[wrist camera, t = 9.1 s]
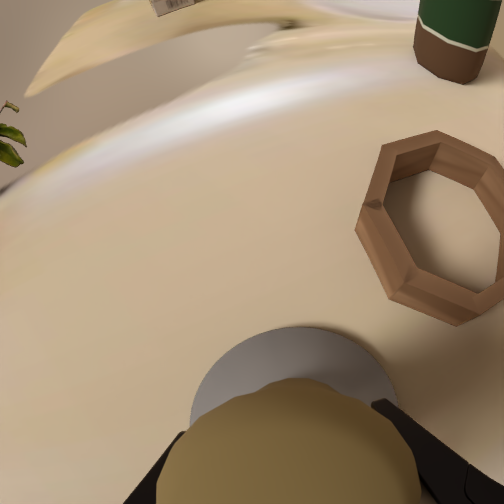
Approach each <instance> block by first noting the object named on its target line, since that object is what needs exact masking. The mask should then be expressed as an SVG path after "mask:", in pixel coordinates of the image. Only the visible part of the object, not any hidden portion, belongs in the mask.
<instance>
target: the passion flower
mask: <svg viewBox="0 0 504 504" xmlns="http://www.w3.org/2000/svg"><path fill="white" fill-rule="evenodd" d="M4 107H8V108H12V109H13V110H14V111H15V112H16V113H17V112H19V108H18V107H17V106H15V105H13V104H11V103H9V102H8V101H6V102H5V104H4V105H3V107H2V108H1V110H0V113H1V111H2V109H3V108H4ZM0 136H2V137H7V138H10V139H12V140H14V141H16V142H19V143H21V144H23V145H24V146H25V147H27V146H26V142H25V138H24V136H23V134H22V132H21V131H19V130H17V129H15V128H14V127H12V126H9V127H7V125H6V124H0ZM0 161H2V162H4V163H6V164H7V165H10V166H12V167H18V166H19V165H20V164H23V163H24V161H23V160H22V159H21V158H20V157H19V155H18V153H17V151H16V150H15V149H14V148H13V147H12V146H11V145H10V144H9V143H5V142H3V141H1V140H0Z"/></svg>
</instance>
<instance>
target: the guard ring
mask: <svg viewBox="0 0 504 504" xmlns="http://www.w3.org/2000/svg"><path fill="white" fill-rule="evenodd" d="M428 169H429V170H431V171H434V172H436V173H438V174H441V175H443V176H445V177H447V178H450V179H452V180H454V181H456V182H459V183H461V184H463V185H465V186H467V187H469V188H472V189H474V191H475V192H476V194H477V196H478V197H479V199H480V200H481V202H482V203H483V205H484V207H485V208H486V210H487V211H488V213H489V215H490V216H491V218H492V220H493V221H494V223H495V225H496V227H497V228H498V230H499V232H500V234H501V235H500V247H499V257H498V266H497V273H496V280H495V283H494V284H493V285H491V286H490V287H488V288H487V289H485V290H483V291H482V292H480V293H479V294H477V293H475V292H473V291H470V290H468V289H466V288H464V287H461V286H459V285H457V284H454V283H452V282H450V281H448V280H445V279H443V278H440V277H438V276H436V275H433V274H431V273H429V272H426V271H424V270H421V269H419V268H417V267H416V265H415V263H414V261H413V259H412V257H411V255H410V253H409V251H408V249H407V248H406V246H405V244H404V242H403V240H402V238H401V237H400V235H399V233H398V231H397V229H396V228H395V226H394V224H393V222H392V220H391V219H390V217H389V215H388V214H387V212H386V210H385V208H384V207H383V205H382V204H383V201H384V198H385V195H386V191H387V188H388V184H389V183H390V182H393V181H396V180H399V179H402V178H405V177H408V176H411V175H414V174H417V173H420V172H422V171H425V170H428ZM355 231H356V233H357V235H358V237H359V239H360V241H361V243H362V245H363V247H364V249H365V251H366V253H367V255H368V257H369V259H370V261H371V263H372V265H373V267H374V269H375V271H376V273H377V275H378V277H379V279H380V281H381V283H382V286H383V288H384V290H385V292H386V294H387V296H388V298H389V299H390V300H392V301H395V302H397V303H400V304H402V305H405V306H407V307H410V308H412V309H415V310H417V311H419V312H422V313H424V314H427V315H429V316H432V317H434V318H437V319H439V320H442V321H444V322H447V323H449V324H452V325H454V326H458V325H460V324H463V323H465V322H467V321H469V320H471V319H473V318H475V317H477V316H479V315H481V314H482V313H483V312H485V311H486V310H488V309H489V308H491V307H492V306H494V305H495V304H497V303H498V302H500V301H501V300H502V299H504V169H503V168H502V166H501V165H500V163H499V162H498V161H497V159H496V158H495V157H494V156H492V155H490V154H488V153H486V152H484V151H482V150H480V149H478V148H476V147H474V146H472V145H469V144H467V143H465V142H463V141H461V140H458V139H456V138H454V137H452V136H449V135H447V134H445V133H442V132H440V131H438V130H435V131H431V132H428V133H424V134H420V135H416V136H413V137H409V138H405V139H402V140H398V141H395V142H391V143H388V144H384V145H382V147H381V151H380V154H379V158H378V161H377V164H376V167H375V170H374V173H373V176H372V179H371V182H370V185H369V188H368V191H367V194H366V197H365V200H364V203H363V204H362V208H361V211H360V214H359V218H358V221H357V224H356V228H355Z"/></svg>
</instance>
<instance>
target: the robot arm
mask: <svg viewBox="0 0 504 504" xmlns="http://www.w3.org/2000/svg"><path fill="white" fill-rule="evenodd" d="M371 408H372V409H374V410H375V411H377V412H378V413H380V414H381V415H383V416H384V417H385V418H387V419H388V420H390V421H391V422H392V423H393V425H394V426H395V428H396V429H397V430H398V432H399V433H400V435H401V436H402V438H403V439H404V440H405V442H406V443H407V445H408V446H409V447H410V449H411V451H412V453H413V456H414V458H415V463H416V467H417V472H418V476H419V481H420V486H421V491H422V493H421V499H420V504H504V486H503V485H501V484H499V483H498V482H496V481H494V480H493V479H491V478H489V477H488V476H487V475H485V474H484V473H482V472H481V471H479V470H478V469H477V468H475V467H474V466H473V465H471V464H469V463H468V462H467V461H466V460H465V459H463V458H462V457H461V456H459V455H458V454H457V453H455V452H454V451H453V450H452V449H450V448H449V447H448V446H446V445H445V444H444V443H442V442H441V441H440V440H439V439H437V438H436V437H435V436H433V435H432V434H431V433H430V432H428V431H427V430H426V429H424V428H423V427H422V426H421V425H419V424H418V423H417V422H416V421H414V420H413V419H412V418H411V417H409V416H408V415H407V414H405V413H404V412H403V411H402V410H400V409H399V408H398V407H397V406H395V405H394V404H393V403H392V402H390V401H389V400H388V399H386V398H381V399H378V400H374V401H372V402H371ZM185 432H186V431H181V432H180V433H179V434H178V435H177V436H176V438H175V439H174V440H173V441H172V443H171V444H170V445H169V447H168V448H167V449H166V450H165V452H164V453H163V454H162V456H161V457H160V458H159V459H158V461H157V462H156V463H155V464H154V466H153V467H152V468H151V470H150V471H149V472H148V473H147V475H146V476H145V477H144V478H143V480H142V481H141V482H140V483H139V484H138V486H137V487H136V488H135V489H134V491H133V492H132V493H131V494H130V495H129V497H128V498H127V499H126V500H125V502H124V503H123V504H156V490H157V481H158V478H159V476H160V474H161V471H162V469H163V467H164V464H165V462H166V459H167V457H168V455H169V452H170V450H171V449H172V447H173V446H174V444H175V443H176V442H177V441H178V440H179V438H180V437H181V436H182V435H183V434H184V433H185ZM468 464H469V465H468Z"/></svg>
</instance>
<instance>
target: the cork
mask: <svg viewBox="0 0 504 504" xmlns="http://www.w3.org/2000/svg"><path fill="white" fill-rule="evenodd" d="M421 493H422V491H421V486H420V481H419V476H418V472H417V467H416V463H415V458H414V456H413V453H412V451H411V449H410V447H409V446H408V445H407V443H406V442H405V440H404V439H403V438H402V436H401V435H400V433H399V432H398V430H397V429H396V428H395V426H394V425H393V423H392V422H391V421H390V420H388V419H387V418H385V417H384V416H383V415H381V414H380V413H378V412H377V411H375V410H374V409H372V408H371V407H369V406H368V405H366V404H365V403H364V402H362V401H361V400H359V399H356V398H352V397H349V396H345V395H342V394H340V393H339V392H337V391H336V390H334V389H333V388H332V387H330V386H329V385H328V384H325V383H322V382H319V381H316V380H312V379H309V378H286V379H283V380H279V381H275V382H272V383H269V384H267V385H266V386H264V387H262V388H261V389H259V390H258V391H256V392H253V393H249V394H245V395H241V396H236V397H233V398H232V399H230V400H228V401H227V402H225V403H223V404H221V405H220V406H218V407H216V408H214V409H213V410H211V411H209V412H207V413H205V414H204V415H202V416H200V417H199V418H198V419H197V420H196V421H195V422H194V423H193V424H192V426H191V427H190V428H189V429H188V430H187V431H186V432H185V433H184V434H183V435H182V436H181V437H180V438H179V440H178V441H177V442H176V443H175V444H174V446H173V447H172V449H171V450H170V452H169V455H168V457H167V459H166V462H165V464H164V467H163V469H162V471H161V474H160V476H159V478H158V481H157V490H156V504H420V499H421Z"/></svg>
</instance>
